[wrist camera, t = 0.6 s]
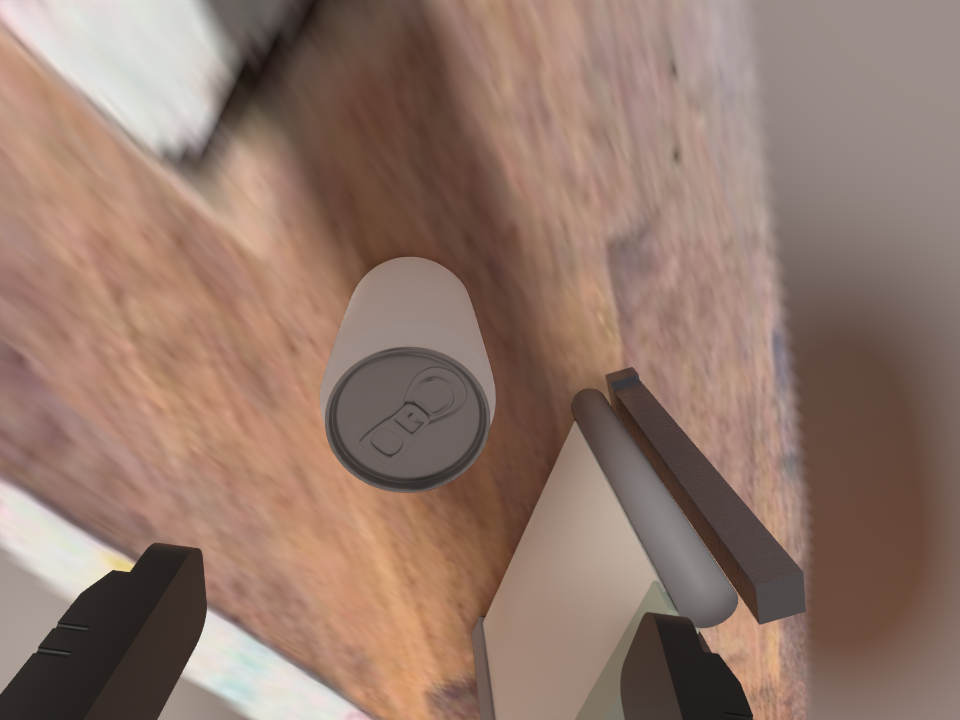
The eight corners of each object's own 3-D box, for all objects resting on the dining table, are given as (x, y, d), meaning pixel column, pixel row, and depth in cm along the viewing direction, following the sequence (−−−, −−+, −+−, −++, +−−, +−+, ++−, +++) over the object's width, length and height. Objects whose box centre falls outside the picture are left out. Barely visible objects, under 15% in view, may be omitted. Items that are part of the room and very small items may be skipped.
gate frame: (605, 375, 33) (754, 578, 19) (632, 367, 33) (802, 563, 19) (654, 609, 41) (788, 886, 26) (676, 603, 41) (822, 876, 26)
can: (497, 312, 31) (541, 418, 20) (414, 392, 33) (413, 533, 22) (407, 227, 29) (402, 294, 18) (323, 316, 30) (270, 430, 19)
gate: (579, 384, 33) (697, 577, 19) (611, 393, 33) (748, 589, 20) (468, 633, 39) (497, 912, 25) (496, 638, 40) (538, 915, 26)
